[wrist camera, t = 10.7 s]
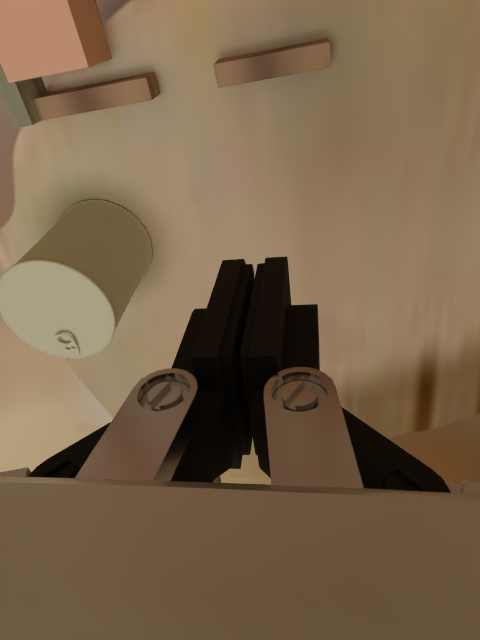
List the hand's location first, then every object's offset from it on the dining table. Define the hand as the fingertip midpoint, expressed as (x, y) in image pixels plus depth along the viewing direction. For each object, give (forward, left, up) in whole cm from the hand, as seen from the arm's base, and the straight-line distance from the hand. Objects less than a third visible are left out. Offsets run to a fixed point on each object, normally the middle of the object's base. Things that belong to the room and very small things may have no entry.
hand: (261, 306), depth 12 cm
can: (+18, +10, -29) cm, 35 cm away
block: (+15, -8, -29) cm, 33 cm away
